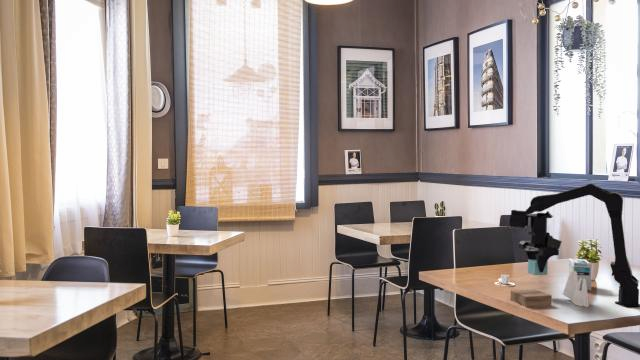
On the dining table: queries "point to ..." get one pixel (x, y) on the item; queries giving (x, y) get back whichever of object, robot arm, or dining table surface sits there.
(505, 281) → the teacup and saucer
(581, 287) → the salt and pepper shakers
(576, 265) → the light bulb box
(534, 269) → the teal cube
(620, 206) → the robot arm
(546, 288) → the dining table surface
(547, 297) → the walnut block
